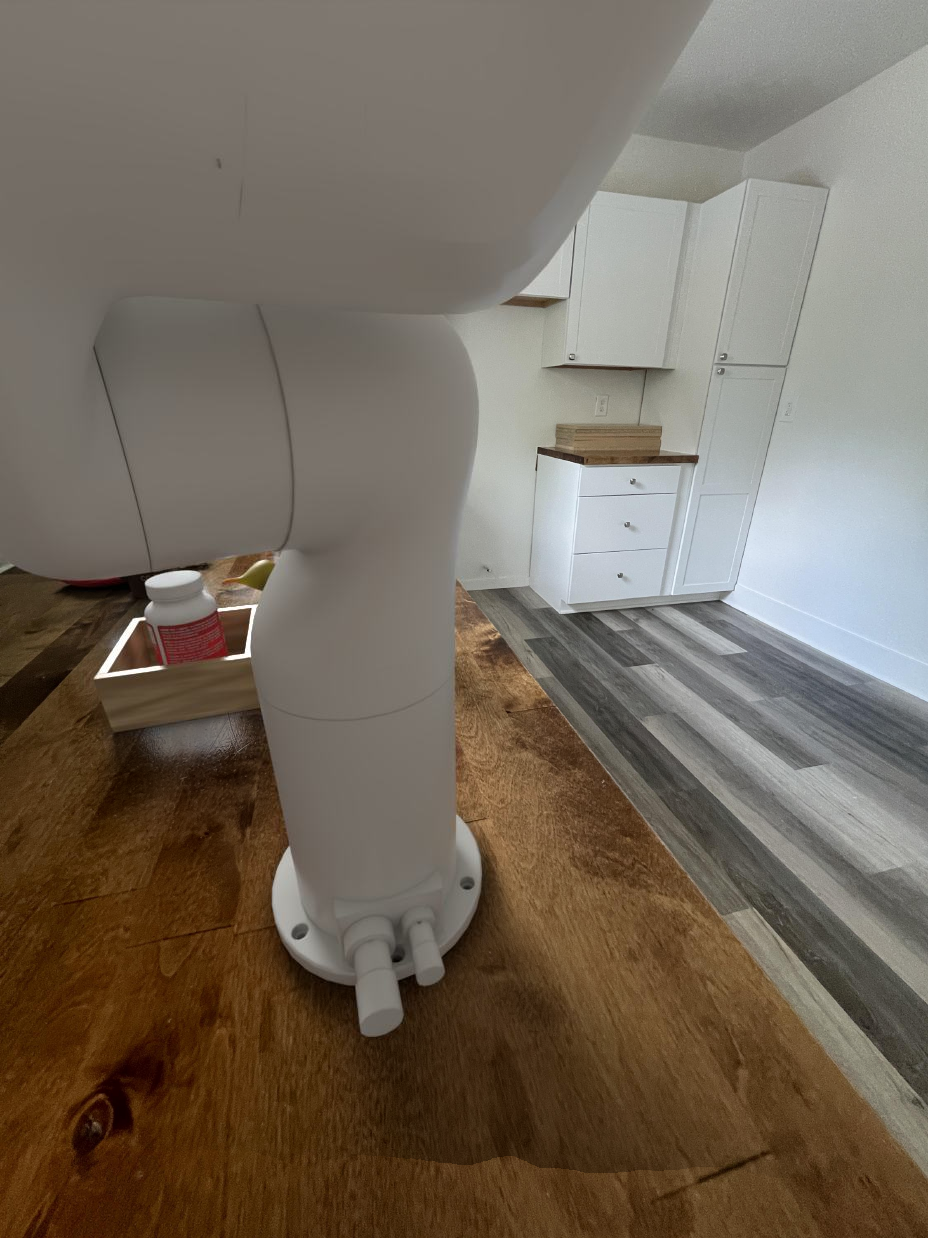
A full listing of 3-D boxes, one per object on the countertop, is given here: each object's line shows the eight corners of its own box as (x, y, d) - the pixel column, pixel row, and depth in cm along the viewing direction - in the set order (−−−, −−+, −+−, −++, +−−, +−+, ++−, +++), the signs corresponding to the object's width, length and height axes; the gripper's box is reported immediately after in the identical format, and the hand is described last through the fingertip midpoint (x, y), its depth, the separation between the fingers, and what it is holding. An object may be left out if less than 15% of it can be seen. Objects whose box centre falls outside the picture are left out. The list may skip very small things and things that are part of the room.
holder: (263, 707, 48) (253, 656, 45) (113, 733, 44) (92, 679, 42) (268, 647, 59) (259, 603, 56) (147, 664, 55) (132, 618, 53)
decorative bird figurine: (54, 598, 69) (54, 586, 77) (194, 578, 80) (182, 569, 87) (48, 578, 68) (49, 568, 76) (191, 560, 79) (179, 552, 86)
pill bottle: (245, 671, 53) (224, 572, 48) (196, 702, 48) (167, 594, 43) (202, 659, 55) (178, 563, 50) (151, 688, 50) (119, 584, 45)
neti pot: (223, 611, 68) (213, 566, 65) (325, 584, 77) (319, 543, 74) (235, 622, 65) (224, 574, 62) (338, 592, 74) (333, 550, 71)
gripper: (-87, -4, 25) (38, 379, 32) (281, 58, 30) (317, 379, 37) (-10, 76, 31) (80, 380, 39) (282, 116, 36) (312, 380, 43)
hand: (196, 379), depth 38 cm, fingers open, 9 cm apart
